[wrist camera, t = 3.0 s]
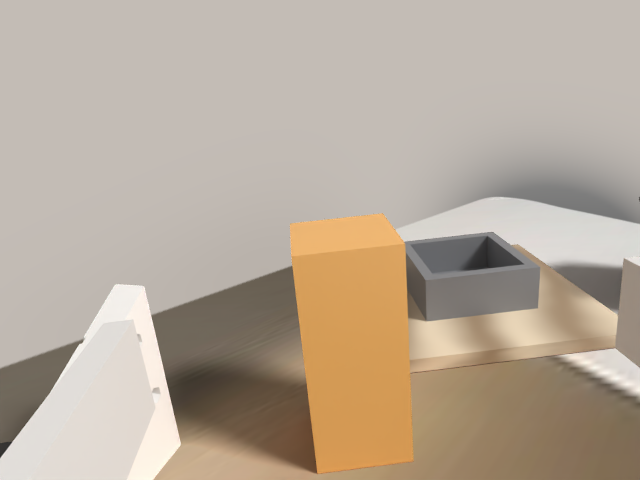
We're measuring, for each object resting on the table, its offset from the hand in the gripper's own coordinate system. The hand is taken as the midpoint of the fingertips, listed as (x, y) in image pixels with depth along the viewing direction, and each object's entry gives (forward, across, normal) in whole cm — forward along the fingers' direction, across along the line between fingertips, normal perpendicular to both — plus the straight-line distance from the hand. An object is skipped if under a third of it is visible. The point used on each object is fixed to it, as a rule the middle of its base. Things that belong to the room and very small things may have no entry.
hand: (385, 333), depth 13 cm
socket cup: (+25, +11, -11) cm, 29 cm away
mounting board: (+25, +11, -12) cm, 30 cm away
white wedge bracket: (+10, -13, -13) cm, 21 cm away
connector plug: (+11, 0, -12) cm, 17 cm away
